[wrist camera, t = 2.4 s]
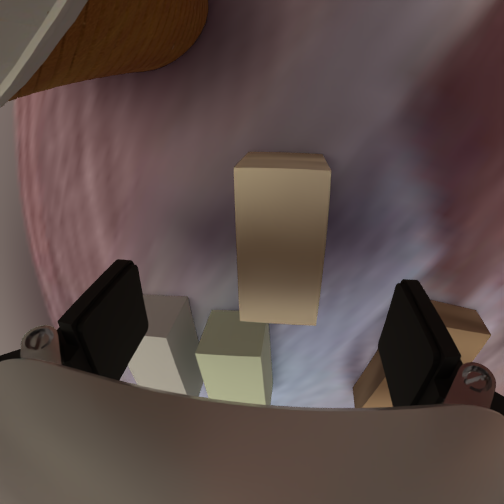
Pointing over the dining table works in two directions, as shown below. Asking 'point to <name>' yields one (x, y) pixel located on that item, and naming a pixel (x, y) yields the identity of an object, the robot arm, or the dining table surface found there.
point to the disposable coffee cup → (90, 39)
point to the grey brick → (168, 347)
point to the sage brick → (235, 359)
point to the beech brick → (281, 235)
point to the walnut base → (463, 334)
